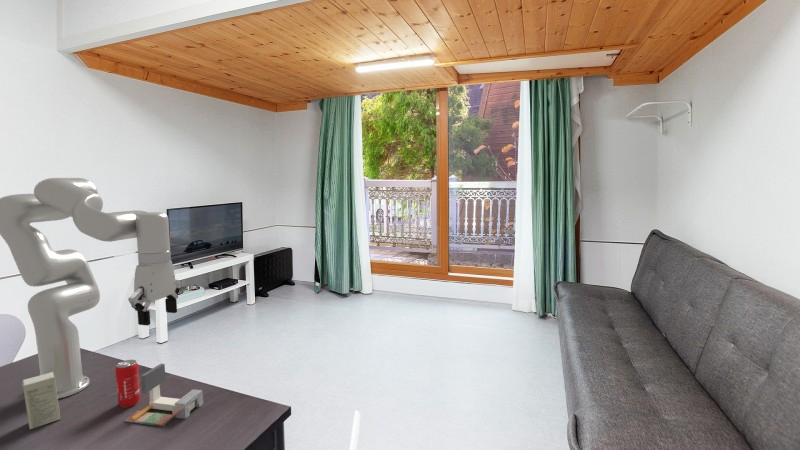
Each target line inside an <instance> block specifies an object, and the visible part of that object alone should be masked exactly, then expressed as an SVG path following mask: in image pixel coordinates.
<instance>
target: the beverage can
mask: <svg viewBox="0 0 800 450" xmlns="http://www.w3.org/2000/svg"><path fill="white" fill-rule="evenodd" d="M138 365H139V364H138V362H137V360H135V359H126V360H123V361H120V362H118V363H117V364H116V367H115V381H116V392H117V403H118V405H119V406H120V407H121V408H123V409H124V408H130V407H133V406H136V405H138V403H139V402H140V398H141V391H140V388H141V387H140V378H139V366H138Z"/></svg>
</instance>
